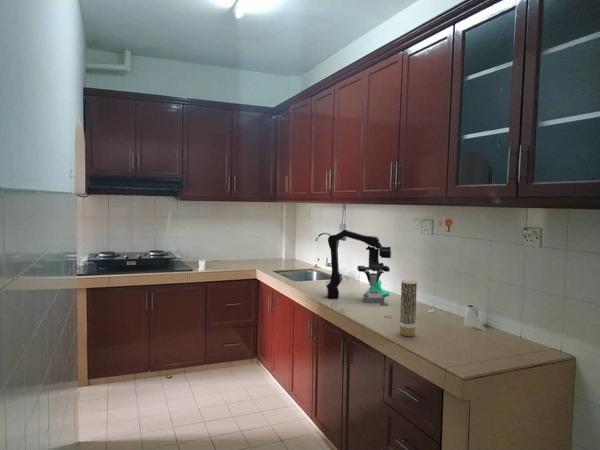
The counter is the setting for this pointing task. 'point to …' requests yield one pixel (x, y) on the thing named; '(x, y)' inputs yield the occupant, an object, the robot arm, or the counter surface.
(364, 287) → the counter surface
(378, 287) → the camera mount
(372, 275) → the lens
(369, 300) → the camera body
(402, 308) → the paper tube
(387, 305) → the lens cap
